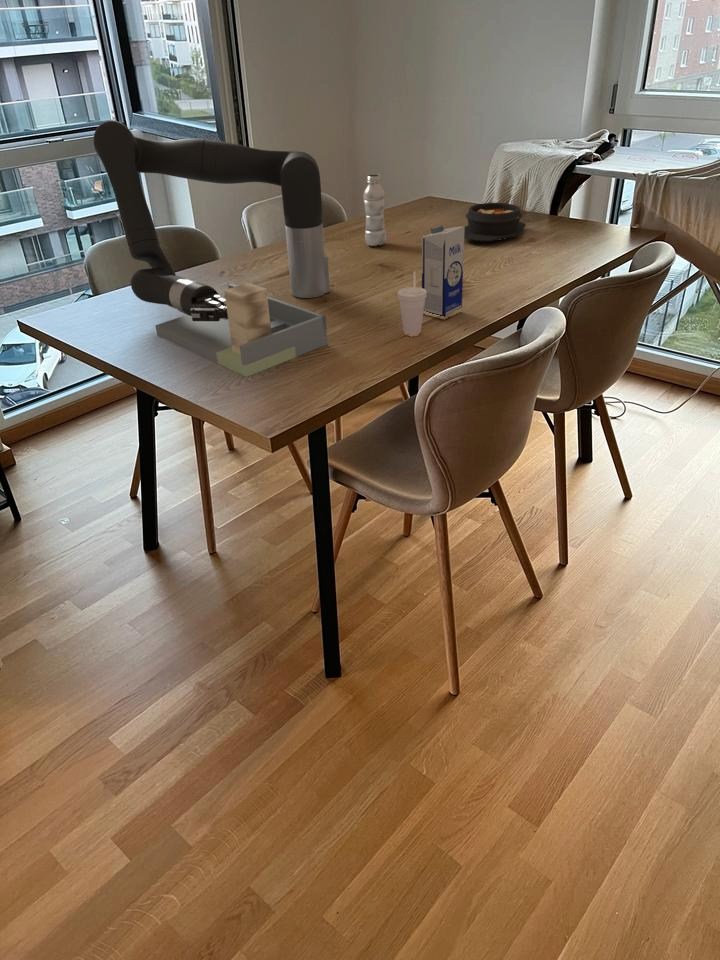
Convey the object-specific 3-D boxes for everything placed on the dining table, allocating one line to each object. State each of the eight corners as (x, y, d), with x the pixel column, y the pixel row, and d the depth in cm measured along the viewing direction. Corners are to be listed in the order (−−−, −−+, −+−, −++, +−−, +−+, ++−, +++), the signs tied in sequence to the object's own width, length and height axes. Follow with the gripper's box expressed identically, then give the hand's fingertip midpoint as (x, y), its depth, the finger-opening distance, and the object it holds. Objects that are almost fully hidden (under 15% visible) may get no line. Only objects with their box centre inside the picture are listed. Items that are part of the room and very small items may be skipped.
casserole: (498, 250, 219) (500, 221, 215) (444, 241, 229) (445, 213, 225) (539, 231, 235) (541, 203, 231) (487, 223, 245) (488, 196, 241)
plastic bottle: (390, 243, 229) (389, 174, 219) (379, 249, 225) (377, 178, 214) (372, 241, 232) (370, 172, 222) (360, 247, 228) (357, 177, 217)
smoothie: (424, 340, 165) (425, 276, 158) (395, 338, 166) (394, 276, 159) (428, 329, 170) (428, 267, 163) (400, 328, 172) (399, 266, 164)
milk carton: (444, 320, 174) (446, 232, 163) (421, 314, 178) (421, 227, 167) (462, 311, 179) (465, 225, 168) (439, 305, 183) (440, 221, 172)
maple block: (255, 342, 161) (248, 282, 154) (273, 349, 157) (266, 288, 150) (232, 351, 158) (224, 290, 151) (250, 358, 154) (242, 296, 147)
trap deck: (234, 309, 186) (231, 283, 183) (327, 344, 165) (325, 316, 162) (157, 335, 174) (151, 308, 170) (246, 377, 153) (242, 346, 149)
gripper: (164, 290, 161) (211, 308, 150) (216, 274, 168) (264, 290, 158) (171, 323, 165) (217, 343, 154) (220, 307, 172) (268, 325, 162)
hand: (240, 316), depth 156 cm, fingers closed
